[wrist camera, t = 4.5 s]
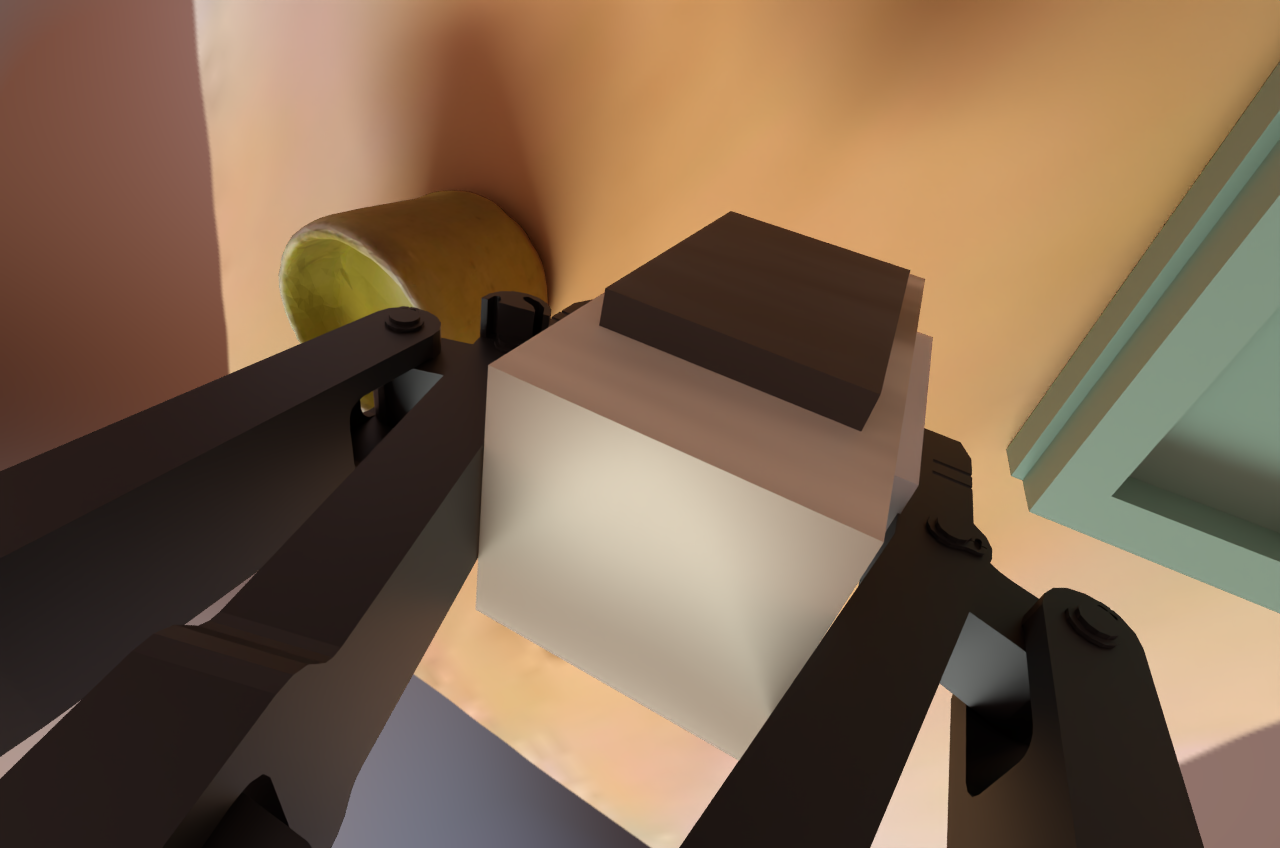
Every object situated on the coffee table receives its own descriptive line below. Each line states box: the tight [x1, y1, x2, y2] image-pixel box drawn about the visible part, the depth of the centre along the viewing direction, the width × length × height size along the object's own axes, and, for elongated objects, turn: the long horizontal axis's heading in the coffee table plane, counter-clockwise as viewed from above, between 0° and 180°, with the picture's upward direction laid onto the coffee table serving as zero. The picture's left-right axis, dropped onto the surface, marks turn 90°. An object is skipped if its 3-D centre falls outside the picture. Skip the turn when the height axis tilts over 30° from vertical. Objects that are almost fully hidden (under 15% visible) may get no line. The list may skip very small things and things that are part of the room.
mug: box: [279, 190, 548, 412], centre depth 28 cm, size 12×10×10 cm
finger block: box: [476, 211, 925, 760], centre depth 12 cm, size 6×5×10 cm
